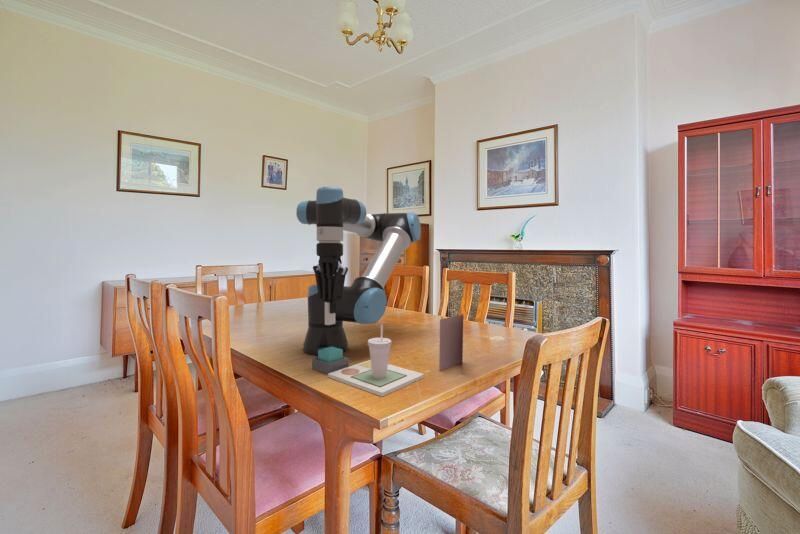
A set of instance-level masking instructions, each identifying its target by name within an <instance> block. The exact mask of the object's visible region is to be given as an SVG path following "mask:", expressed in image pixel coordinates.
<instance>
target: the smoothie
mask: <svg viewBox="0 0 800 534" xmlns="http://www.w3.org/2000/svg"><path fill="white" fill-rule="evenodd" d="M383 335H384V324H380V337H372V338H370V339H368V340H367V346H368V349H369V350H368V351H369V357H370V359H369V360H371V368H372V376H373V378H377V379H382V378H385V377H386V375H387V367H388V364H389V358H390V351H391V350H390V349H391V346H392V340H391V339H390V338H387V337H383Z"/></svg>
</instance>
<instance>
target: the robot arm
mask: <svg viewBox="0 0 800 534" xmlns="http://www.w3.org/2000/svg"><path fill="white" fill-rule="evenodd" d="M315 198H316V199H315V200H306V201H305V200H303V201H301V202H299V203H298V205H297V207H296V213H295V214H296V215H295V216H296V217H297V218H296V219H297V220H298V222H299V223H301V224H303V225H308V226H309V225H316V226H315V227H316V241H317V243H316V245H315V246H316V249H315V251H316V256H318V257H319V258H318V264H316V265H313V267H312V269H313V272H314V277H315V282H316V283H314V284H311V285H310V286H309V287H308V291H307V292H308V293H307V313H308V314H307V320H308V321H307V322H308V324H307V325H308V328H307V331H306V334H305V337H304V341H303V344H302V347H303V348H302V351H303V352H304V353H306V354H308V355H313V356H314V355H316V356H318V350H320V349H324V348H328V347H331V346H332V347H335V348H339V349H343V353H344V352H346V351H348V349H349V341H348V338H347V335H346V332H345V329H344V322H345V323H346V322H349V323H355V324H360V325H367V324H369V325H371V324H376V323H378V322H379V321H380V320H381V319H382V318H383V316H384V314H385V312H386V310H387V309H386V306H387V304H388V301H387V300H388V299H387V295H386V290H385V286H386V285H387V282H388V281H389V278H390V276H391V274H392V273H393V271H394V268H395V267H396V264H397V262H398V261H399V259H400V256H401V255H402V253H403V251H405V250H407V249H408V248H410V245H411V244H412V243H417V242H419V241H420V240H421V235H422V228H421V221H420V218H419V215H417V213H415V212H409V211H407V212H392V213H389V212H388V213H385V212H383V213H371V214H370V213H367V208H366V205H365V204H364V203H363V202H362V201H359V200H357V199H354V198H353V199H352V198H347V197H345V195H344V191H343V189H342V188H340V187H339V186H338V187H337V186H321V187H318V189H317V190H316V197H315ZM344 231H346V232H349V233H354V234H356V235H358V236H359V237H361V238H364V239H370V240H372V241H378V242H380V244H379V246H378V248H377V249H376V251H375V253H374V255H373V256H372V258H371V260H370V261H369V264H368V265H367V267H366V269H365V270H364V272H363V273H362V275H361V276H358V277H356V278H355V279H354V280H353V282H352V283H351V285H348V286H345V281H346V275H347V273H348V272H349V268H348V267H347V266H346V267H345V266H344V265H343V261H342V259H341V258H342V256H343V255H344V244H343V241H344Z"/></svg>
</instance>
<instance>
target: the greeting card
mask: <svg viewBox="0 0 800 534" xmlns="http://www.w3.org/2000/svg"><path fill="white" fill-rule="evenodd" d="M463 349H464V314H458V315H454V316H449V317H445V318H440V319H439V360H438V361H439V365H438V367H439V369H438V371H439V372H440V371H443V370H445V369H448V368H450V367H454V366H456V365H458V364H463V361H464V360H463V358H464V356H463V353H464V350H463Z"/></svg>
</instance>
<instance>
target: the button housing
mask: <svg viewBox="0 0 800 534" xmlns="http://www.w3.org/2000/svg"><path fill="white" fill-rule="evenodd" d="M311 362H312V363H311V365H312V367H311V368H312V370H313V369H314V371H316V370H317V372H319V371H320V372H319V373H322V372H323V373H322V374H325V373H326V374H325V375H328V374H329V373H332V372H335V371H338V370H341V369H344V368H347V367H350V366H349V365H350V364H349V362H350V361H349V357H346V356H343V359H341V360H337V361H334V362H331V363H327V362H324V361H321V360H318V356H317V357H314V358H312V360H311Z"/></svg>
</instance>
